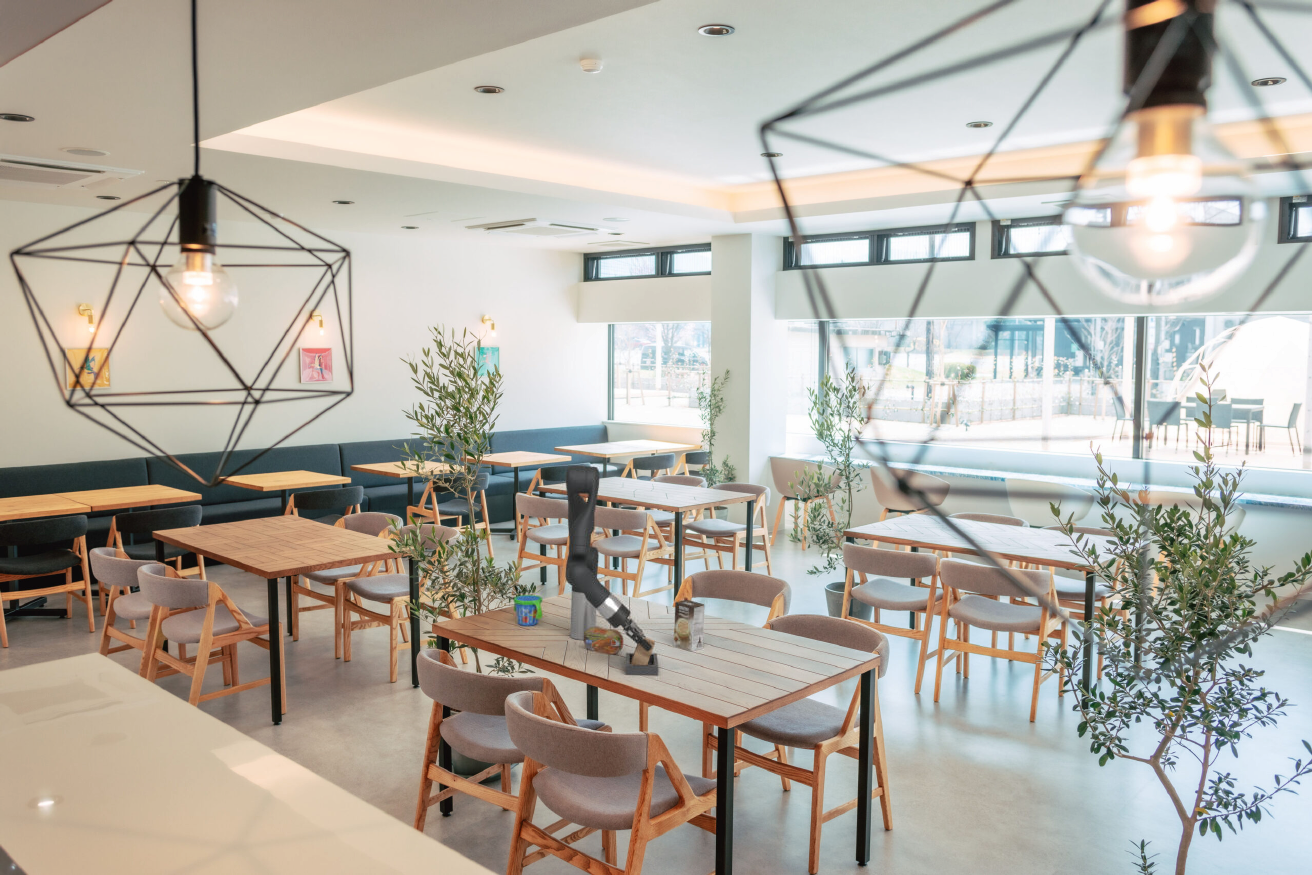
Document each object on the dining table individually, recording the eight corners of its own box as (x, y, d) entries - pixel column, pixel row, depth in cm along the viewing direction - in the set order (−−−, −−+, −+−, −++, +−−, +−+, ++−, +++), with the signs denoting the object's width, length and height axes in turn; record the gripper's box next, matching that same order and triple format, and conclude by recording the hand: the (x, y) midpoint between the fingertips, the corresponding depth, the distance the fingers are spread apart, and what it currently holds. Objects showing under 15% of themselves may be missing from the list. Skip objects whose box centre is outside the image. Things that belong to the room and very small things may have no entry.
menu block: (630, 662, 303) (640, 635, 303) (644, 667, 304) (654, 640, 303) (630, 665, 300) (640, 638, 299) (644, 670, 300) (654, 643, 300)
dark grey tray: (625, 661, 309) (626, 652, 309) (656, 662, 309) (656, 653, 309) (625, 674, 295) (625, 665, 295) (657, 675, 295) (658, 666, 295)
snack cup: (505, 621, 356) (506, 595, 355) (529, 617, 362) (530, 592, 361) (525, 630, 343) (525, 603, 343) (549, 626, 349) (550, 600, 349)
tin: (582, 649, 322) (583, 625, 321) (587, 647, 324) (588, 623, 324) (619, 656, 315) (620, 632, 314) (624, 654, 317) (625, 630, 317)
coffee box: (672, 645, 329) (674, 601, 328) (684, 642, 334) (685, 598, 333) (692, 651, 323) (693, 606, 322) (703, 648, 328) (705, 603, 327)
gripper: (621, 607, 293) (658, 645, 294) (621, 597, 307) (657, 633, 308) (604, 623, 293) (642, 661, 294) (605, 613, 308) (641, 649, 309)
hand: (649, 647), depth 301 cm, fingers closed on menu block, 3 cm apart
